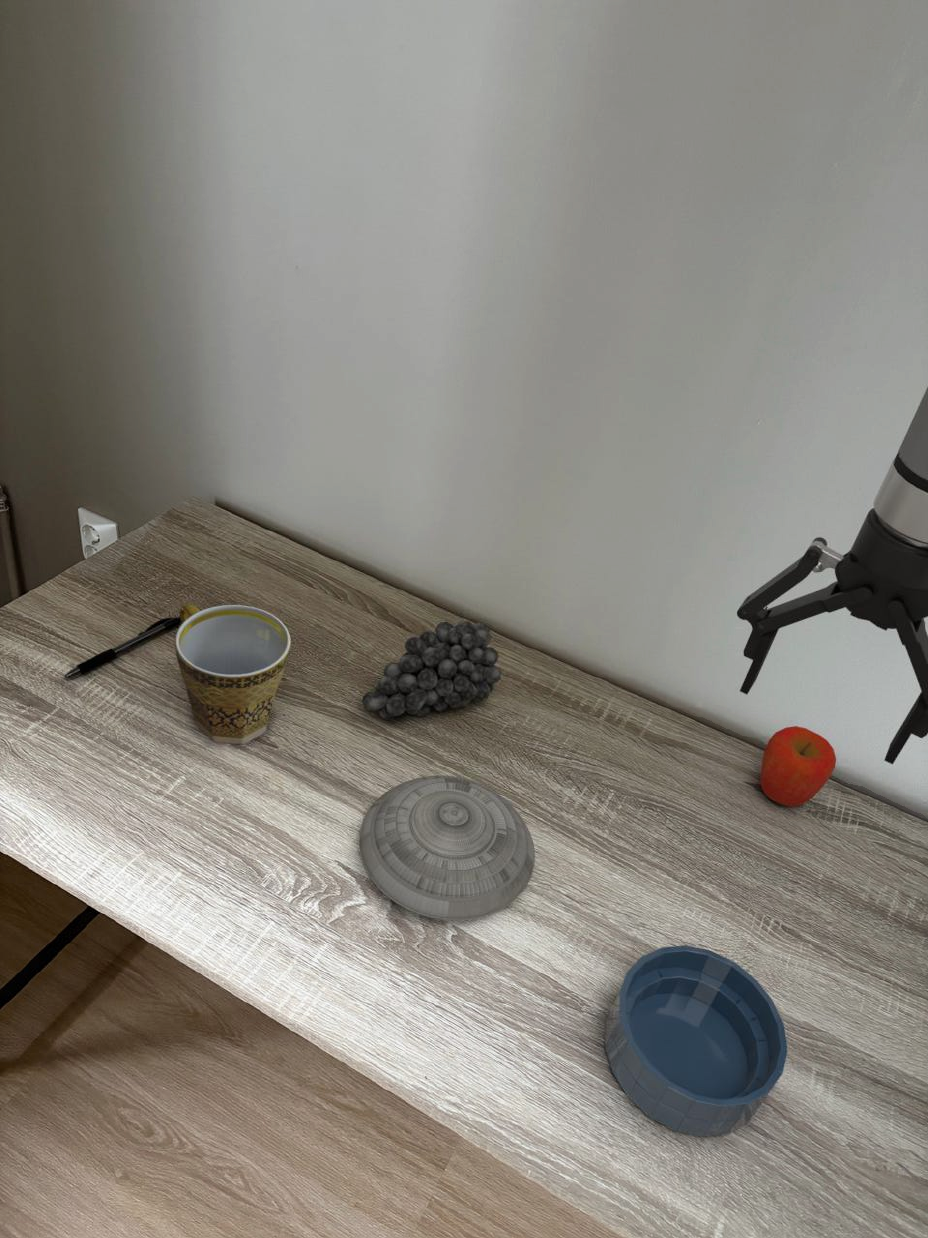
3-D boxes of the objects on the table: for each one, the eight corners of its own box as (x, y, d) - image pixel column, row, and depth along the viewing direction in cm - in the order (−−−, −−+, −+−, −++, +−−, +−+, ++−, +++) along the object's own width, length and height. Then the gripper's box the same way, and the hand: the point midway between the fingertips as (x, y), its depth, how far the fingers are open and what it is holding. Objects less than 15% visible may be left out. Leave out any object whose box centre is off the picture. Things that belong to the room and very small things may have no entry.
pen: (178, 616, 103) (177, 607, 102) (188, 623, 102) (188, 615, 102) (59, 676, 94) (57, 667, 93) (69, 684, 93) (68, 675, 92)
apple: (754, 815, 93) (781, 760, 88) (743, 768, 98) (768, 713, 93) (818, 825, 93) (849, 771, 88) (804, 777, 98) (833, 723, 93)
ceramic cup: (308, 726, 93) (313, 646, 87) (220, 775, 87) (219, 693, 81) (226, 655, 100) (226, 575, 93) (138, 696, 93) (132, 613, 87)
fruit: (378, 667, 88) (514, 623, 95) (337, 638, 94) (467, 599, 101) (387, 751, 91) (517, 702, 98) (346, 717, 98) (471, 674, 105)
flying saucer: (414, 764, 92) (422, 722, 88) (559, 838, 87) (572, 797, 84) (322, 872, 81) (326, 829, 77) (481, 964, 76) (493, 922, 73)
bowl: (797, 1096, 71) (822, 1062, 68) (669, 1170, 66) (690, 1136, 63) (694, 961, 79) (712, 924, 76) (572, 1017, 74) (587, 980, 71)
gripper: (1090, 568, 75) (962, 759, 88) (780, 449, 83) (705, 639, 96) (1084, 615, 69) (948, 810, 82) (753, 481, 78) (677, 679, 91)
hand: (817, 719), depth 89 cm, fingers open, 13 cm apart
